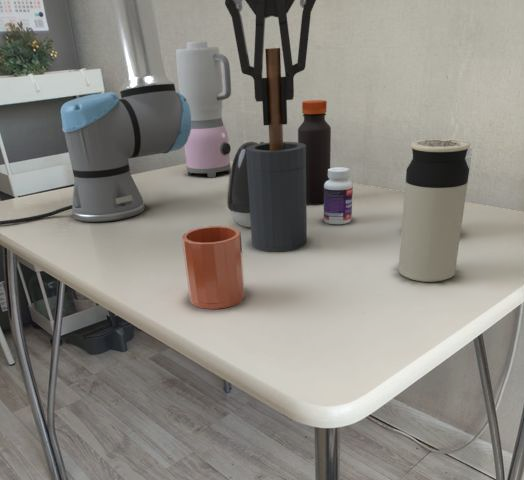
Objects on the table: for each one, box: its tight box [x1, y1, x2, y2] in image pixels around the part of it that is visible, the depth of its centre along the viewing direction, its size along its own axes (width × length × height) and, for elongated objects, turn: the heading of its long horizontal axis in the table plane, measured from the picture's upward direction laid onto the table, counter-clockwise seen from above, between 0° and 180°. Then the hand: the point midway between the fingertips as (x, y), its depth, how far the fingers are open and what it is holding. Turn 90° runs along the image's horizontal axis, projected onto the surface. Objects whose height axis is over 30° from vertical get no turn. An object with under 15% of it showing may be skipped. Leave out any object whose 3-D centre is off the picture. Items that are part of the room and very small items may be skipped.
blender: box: [175, 40, 232, 178], centre depth 141 cm, size 16×12×32 cm
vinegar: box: [297, 99, 332, 205], centre depth 112 cm, size 7×7×20 cm
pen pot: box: [181, 225, 246, 310], centre depth 72 cm, size 8×8×9 cm
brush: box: [264, 47, 284, 150], centre depth 85 cm, size 4×4×24 cm
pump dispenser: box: [226, 141, 265, 229], centre depth 100 cm, size 10×10×15 cm
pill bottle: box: [323, 166, 354, 225], centre depth 101 cm, size 5×5×10 cm
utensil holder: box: [246, 141, 308, 253], centre depth 89 cm, size 10×10×16 cm
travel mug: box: [397, 138, 472, 283], centre depth 74 cm, size 8×8×18 cm
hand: (275, 123), depth 84 cm, fingers closed on brush, 2 cm apart
